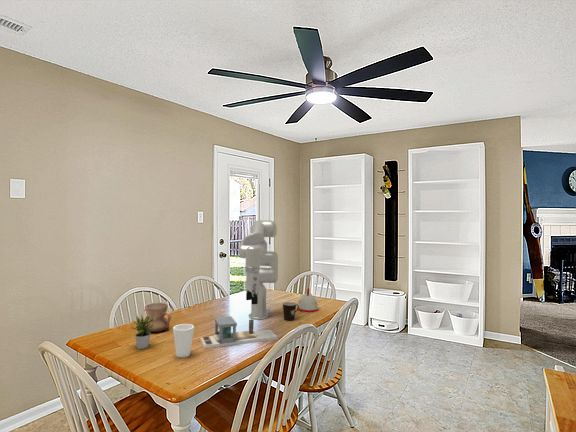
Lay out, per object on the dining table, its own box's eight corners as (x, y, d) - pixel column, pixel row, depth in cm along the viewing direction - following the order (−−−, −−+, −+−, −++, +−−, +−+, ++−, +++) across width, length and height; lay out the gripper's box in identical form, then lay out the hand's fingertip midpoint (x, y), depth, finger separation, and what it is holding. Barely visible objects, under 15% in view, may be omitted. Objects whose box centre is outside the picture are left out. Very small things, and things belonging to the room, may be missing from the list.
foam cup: (177, 350, 169) (178, 323, 168) (196, 351, 168) (197, 324, 167) (169, 358, 159) (169, 329, 159) (188, 359, 158) (189, 330, 158)
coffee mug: (284, 322, 216) (284, 305, 216) (280, 317, 224) (281, 302, 224) (302, 320, 219) (302, 305, 219) (298, 316, 228) (298, 301, 228)
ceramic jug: (134, 331, 193) (134, 306, 192) (152, 323, 206) (153, 300, 206) (160, 337, 187) (161, 310, 186) (177, 328, 200) (178, 303, 200)
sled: (252, 332, 191) (252, 317, 191) (256, 337, 184) (257, 321, 184) (213, 336, 183) (214, 321, 183) (216, 341, 175) (217, 326, 175)
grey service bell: (318, 308, 251) (319, 287, 251) (316, 313, 237) (317, 291, 237) (299, 306, 253) (299, 286, 253) (296, 311, 240) (297, 290, 240)
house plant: (157, 352, 166) (158, 317, 166) (125, 354, 162) (126, 319, 162) (159, 341, 179) (160, 309, 179) (130, 343, 175) (131, 311, 175)
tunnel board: (269, 331, 198) (270, 312, 197) (277, 339, 186) (278, 318, 186) (200, 339, 182) (200, 319, 182) (204, 348, 171) (205, 326, 171)
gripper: (264, 272, 180) (263, 305, 180) (254, 267, 196) (253, 297, 196) (250, 272, 177) (249, 306, 177) (241, 267, 193) (240, 298, 193)
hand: (251, 301), depth 186 cm, fingers open, 9 cm apart
